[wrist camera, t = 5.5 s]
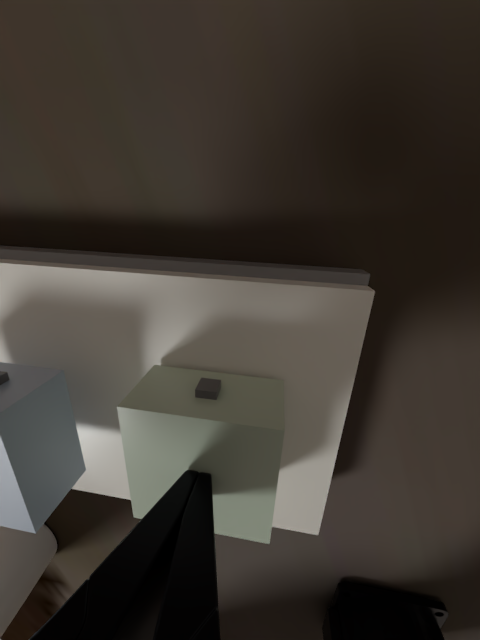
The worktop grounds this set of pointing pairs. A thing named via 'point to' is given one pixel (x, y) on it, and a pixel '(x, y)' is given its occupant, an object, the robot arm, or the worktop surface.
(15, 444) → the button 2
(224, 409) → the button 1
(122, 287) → the console
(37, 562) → the mug
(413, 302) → the worktop surface
